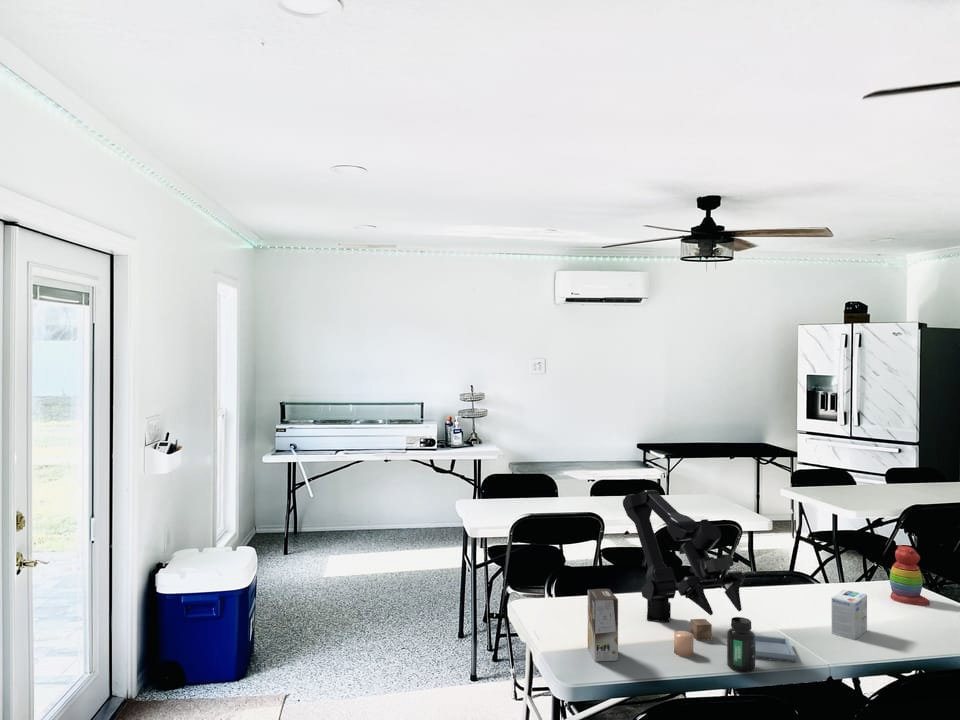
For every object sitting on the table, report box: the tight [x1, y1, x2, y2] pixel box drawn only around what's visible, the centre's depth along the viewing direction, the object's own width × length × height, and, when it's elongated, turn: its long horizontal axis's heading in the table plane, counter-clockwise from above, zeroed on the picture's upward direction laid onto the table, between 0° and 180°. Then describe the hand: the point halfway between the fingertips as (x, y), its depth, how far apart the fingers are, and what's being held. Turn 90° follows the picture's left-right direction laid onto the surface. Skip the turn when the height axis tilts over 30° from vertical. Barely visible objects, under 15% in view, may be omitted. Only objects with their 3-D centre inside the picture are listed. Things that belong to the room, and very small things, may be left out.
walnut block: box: [689, 618, 713, 641], centre depth 196 cm, size 4×4×4 cm
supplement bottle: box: [726, 616, 757, 673], centre depth 176 cm, size 7×7×12 cm
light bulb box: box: [831, 589, 868, 641], centre depth 200 cm, size 11×7×11 cm, turn 134°
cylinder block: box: [673, 630, 695, 658], centre depth 185 cm, size 5×5×5 cm
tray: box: [755, 634, 796, 663], centre depth 187 cm, size 12×12×2 cm
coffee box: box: [587, 588, 619, 662], centre depth 183 cm, size 9×6×16 cm
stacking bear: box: [889, 544, 931, 606], centre depth 229 cm, size 11×10×18 cm
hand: (726, 612), depth 182 cm, fingers open, 9 cm apart
